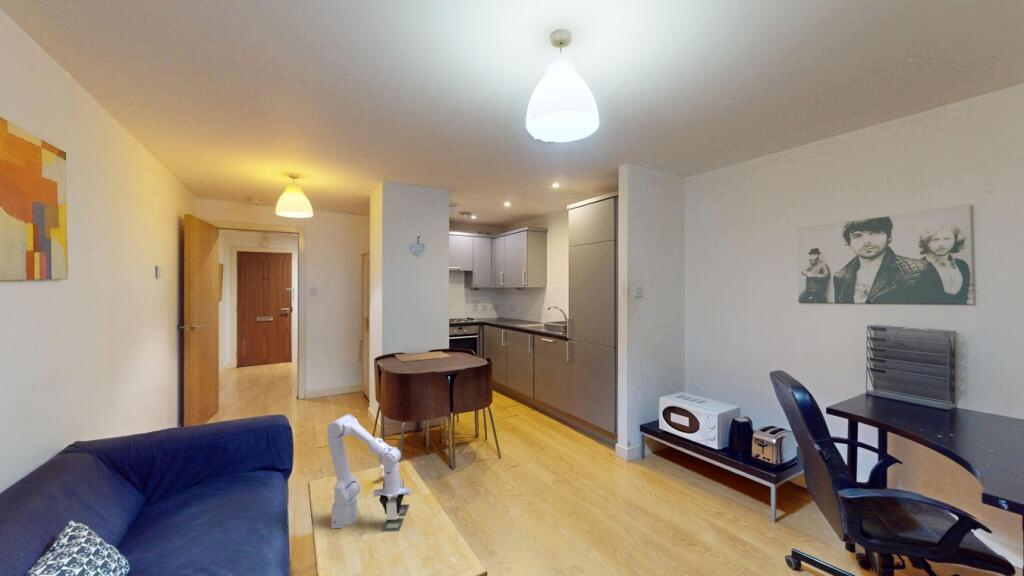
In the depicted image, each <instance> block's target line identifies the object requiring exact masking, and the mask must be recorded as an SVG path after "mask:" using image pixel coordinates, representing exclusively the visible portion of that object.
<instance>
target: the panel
mask: <svg viewBox="0 0 1024 576" xmlns="http://www.w3.org/2000/svg"><path fill="white" fill-rule="evenodd" d="M409 508H410V504H409V503H408V504H407V503H405V504H401V506H400V512H399V515H398V518H397V519H393V520H387V518H385V521H384V523H383V526H382V527H381V530H380V531H381V532H400V530H401V528H402V525H403V523H404V518H403V517H406V515H407V513H408V510H409Z"/></svg>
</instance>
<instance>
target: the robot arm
mask: <svg viewBox="0 0 1024 576" xmlns="http://www.w3.org/2000/svg"><path fill="white" fill-rule="evenodd" d="M326 429H327V443H328V448H329V453H330V455H331V460H332V465H333V468H334V473H335V477H336V483H335V486H334V488H333V491H334V495H333V500H334V501H333V503H332V506H331V510H330V511H331V517H330V518H331V526H330V529H341V528H344V527H345V526H347V525H351V524H353V523H355V522H356V521H357V519H358V502H357V501H358V494H359V493H360V491H361V485H360V483H359V481H358V480H357V477H356V475H355V476H354V475H352V473H351V468H350V464H349V461H348V457H347V452H346V449H345V448H346V447H345V444H344V440H343V439H344V437H347V436H353V437H355V438H357V439H359V440H360V441H362V442H363V444H366V445H368V446H367V448H368V451H370V452H371V453H372V454H374V455H375V456H376V457H378V459H380V462H381V465H383V466H384V475H383V478H384V480H385V488H383V487H382V488H377V489H374V491H373V492H372V495H373V497H374V498H376V497H379V499H378V500H379V503H380V504H381V506H382V508H383V510H384V514H385V515H387V506H386V503H387V501H388V499H389V498H391V497H392V496H396V503H397V514H399V512H400V506H401V505H402V502H403V499H404V497H405V496H407V497H410V496H411V492H412V489H411V488H408V487H407V488H406V487H404V488H401V487H399V477H400V460H401V458H402V451H401V450H400V449H399V447H397V446H391V445H389V444H388V443H387V442H385V441H384V439H383V438H381V437H374V436H373V435H372V434H371V433H369V432H368V430H366V429H365V428H364V427H363V426H362V425H361V424H360V423H359V421H358V419H357V418H356V417H355V416H354V415H353V414H350V413H346V414H344V415H343V416H341V417H339V418H337V419H335V420H334V421H331V422H330V423H329V425H328V426H327V427H326Z"/></svg>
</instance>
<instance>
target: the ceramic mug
mask: <svg viewBox="0 0 1024 576" xmlns="http://www.w3.org/2000/svg"><path fill="white" fill-rule="evenodd" d="M404 482H405V481H404V479H403V477H402V476H399V487H401V488H405V483H404ZM383 488H385V479H384V481H383V482H382V489H383Z"/></svg>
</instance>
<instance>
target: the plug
mask: <svg viewBox="0 0 1024 576" xmlns="http://www.w3.org/2000/svg"><path fill="white" fill-rule="evenodd" d="M396 498H397V495H395V496H392V497H388V501H387V503H386V506H387V514H386V519H387V520H393V519H397V518H399V516H398V515H399V514H397V503H396Z"/></svg>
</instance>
